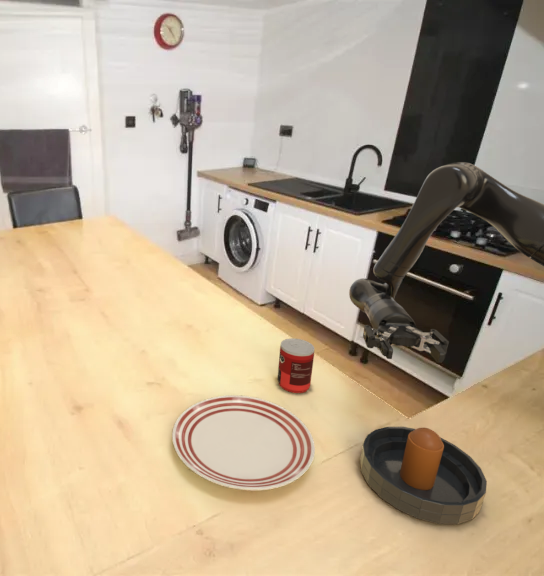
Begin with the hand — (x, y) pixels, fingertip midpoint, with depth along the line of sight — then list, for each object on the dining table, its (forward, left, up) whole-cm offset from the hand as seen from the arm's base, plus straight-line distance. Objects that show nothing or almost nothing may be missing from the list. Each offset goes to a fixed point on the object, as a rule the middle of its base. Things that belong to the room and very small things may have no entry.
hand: (415, 356), depth 76 cm
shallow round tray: (+2, +11, -19) cm, 22 cm away
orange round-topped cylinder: (+2, +11, -19) cm, 22 cm away
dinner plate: (+32, +3, -19) cm, 37 cm away
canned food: (+16, -19, -19) cm, 32 cm away
